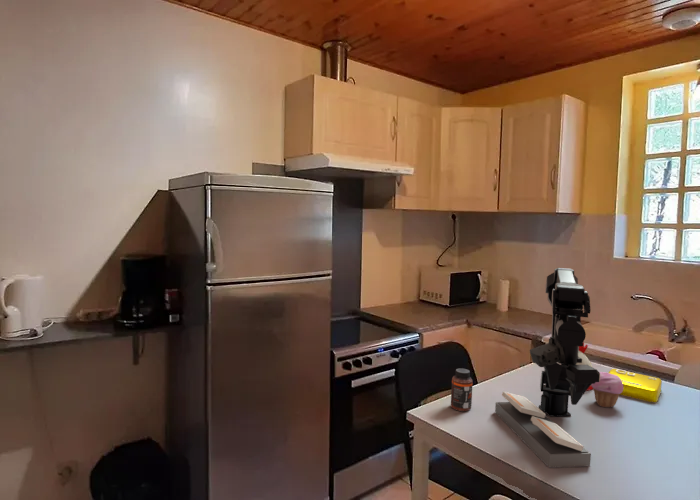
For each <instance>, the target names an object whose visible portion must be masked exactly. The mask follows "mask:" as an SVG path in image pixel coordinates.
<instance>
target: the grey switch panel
mask: <svg viewBox="0 0 700 500" xmlns="http://www.w3.org/2000/svg"><path fill="white" fill-rule="evenodd" d="M494 413H495V414H496V415H497V416H498V417H499V418H500V419H501V420H502V421H503V422H504V423H505V424H506V425H507V426H508V427H509V428H510V429H511V430H512V431H513V432H514V433H515V434H516V435H517V436H518V437H519V439H520V440H522V442H523V443H524V444H525V445H526V446H528V448H529V449H530V450H531V451H532V452H533V453H534V454H535V455H536V456H537V457H538V458H539V459H540V460H541V462H543V463H544V464H545V465H546V467H548V468H549V469H550V468H569V467H571V468H574V467H575V468H576V467H591V458H592V457H591V456H592V453H591V452H590V451H588V450H587V449H586V448H585V447H584V448H583V450H582V451H579V450H576V449H573V448H570V447H567V446H564V445H561V444H558V443H555V442H554V441H553V440H552V439H551V438H550V437H549V436H548V435H546V434H545V433H544V432H543V431H542V430H541V429H540V428H539V427H538V426H536V425H535V424H534V423H533V422H532V421H531V418H532V416H533V415H530V414H526V413H522V412H520V411H519V410H518V409H516V408H515V407H514V406H513V405H512V404H511V403H510V402H509V401H497V402H496V401H495V408H494ZM534 417H537V416H534ZM537 418H540V419H543V420H546V421H549V422H552V423H555V422H554V421H552V419H550V418H549V417H548V416H546V415H545V418H541V417H537Z"/></svg>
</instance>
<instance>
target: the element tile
mask: <svg viewBox="0 0 700 500" xmlns="http://www.w3.org/2000/svg"><path fill="white" fill-rule="evenodd" d="M607 373H610V374H614V375H616V376H618V377H619V378H620V379H621V381H622V383H623V391H622V393H621V394H619V396H623V397H624V396H625V397H629V398H632V399H636V400H640V401H643V402H648V403H657V402H658V400H659V397H660V396H661V392H662V385H663V384H662V381H663V380H662V379H661V378H659V377H655V376H651V375H645V374H641V373H636V372H632V371H627V370H625V369H624V370H622V369H618V368H611V369H610V370H609V371H607Z"/></svg>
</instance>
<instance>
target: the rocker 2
mask: <svg viewBox="0 0 700 500" xmlns="http://www.w3.org/2000/svg"><path fill="white" fill-rule="evenodd" d="M531 421H532V422H533V423H534V424H535V425H536V426H538V427H539V428H540V429H541V430H542V431H543V432H544V433H545V434H546V435H548V436H549V437H550V438H551V439H552V440H553V441H554V442H555V443H558V444H561V445H564V446H567V447H570V448H573V449H576V450H579V451H582V450H583V448H585V446H584V445H583V444H581V443H580V442H579V441H577V440H576V439H575V438H574V437H573V436H572V435H570V433H568V432H567V431H566V430H565V429H563V427H561V426H560V425H559V424H557V423H555V422H554V423H552V422H553V421H552V422H549V421H546V420H543V419H540V418H537V417H534V416H532V418H531Z"/></svg>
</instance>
